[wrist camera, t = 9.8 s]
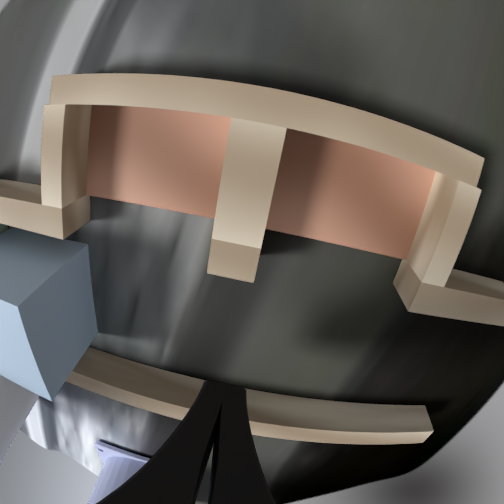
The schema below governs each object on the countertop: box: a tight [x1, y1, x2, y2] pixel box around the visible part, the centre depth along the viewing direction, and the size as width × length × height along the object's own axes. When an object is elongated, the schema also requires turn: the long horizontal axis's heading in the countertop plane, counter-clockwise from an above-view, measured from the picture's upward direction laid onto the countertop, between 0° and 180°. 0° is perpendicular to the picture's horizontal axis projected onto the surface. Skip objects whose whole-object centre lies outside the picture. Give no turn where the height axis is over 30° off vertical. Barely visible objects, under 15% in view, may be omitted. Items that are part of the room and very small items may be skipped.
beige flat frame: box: [0, 73, 504, 444], centre depth 11 cm, size 14×25×3 cm, turn 80°
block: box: [0, 227, 98, 401], centre depth 11 cm, size 5×5×5 cm
